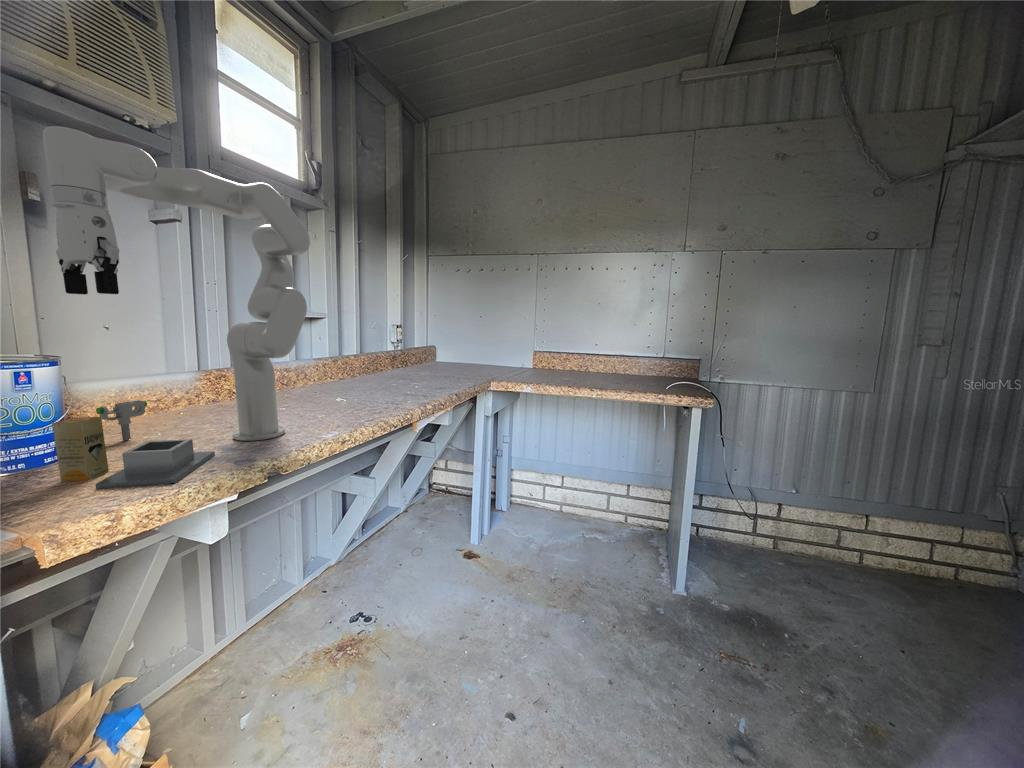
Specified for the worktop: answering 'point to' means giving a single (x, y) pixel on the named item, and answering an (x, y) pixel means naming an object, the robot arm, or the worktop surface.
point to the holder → (156, 464)
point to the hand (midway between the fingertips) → (92, 293)
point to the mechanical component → (123, 414)
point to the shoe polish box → (80, 448)
